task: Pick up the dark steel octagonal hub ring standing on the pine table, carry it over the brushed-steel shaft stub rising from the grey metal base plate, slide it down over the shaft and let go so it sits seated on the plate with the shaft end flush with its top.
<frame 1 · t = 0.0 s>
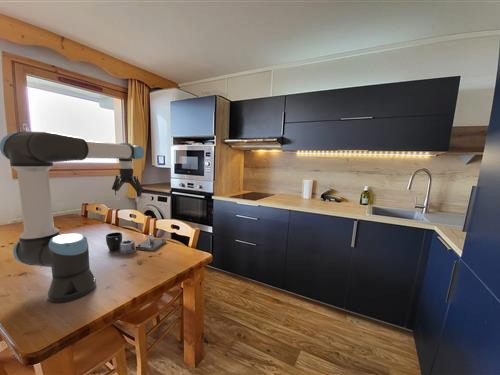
hand: (128, 201, 133), 28 cm above the table, fingers open, 13 cm apart
shaft block: (151, 245, 133), on the table
mug: (115, 250, 125), on the table
hub: (127, 251, 123), on the table
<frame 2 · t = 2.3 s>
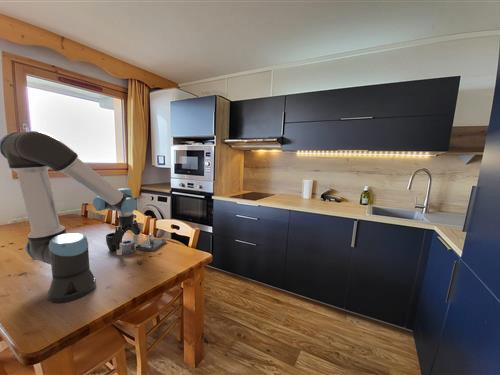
hand: (128, 249, 123), 1 cm above the table, fingers open, 13 cm apart
nothing on the table moved.
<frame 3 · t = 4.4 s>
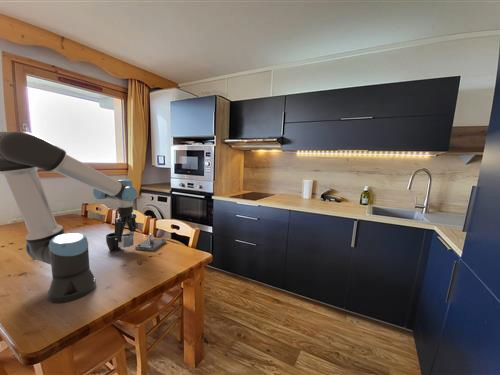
hand: (126, 244, 122), 5 cm above the table, fingers closed on hub, 7 cm apart
hub: (126, 245, 122), point 5 cm above the table, touching gripper
everything else where it was.
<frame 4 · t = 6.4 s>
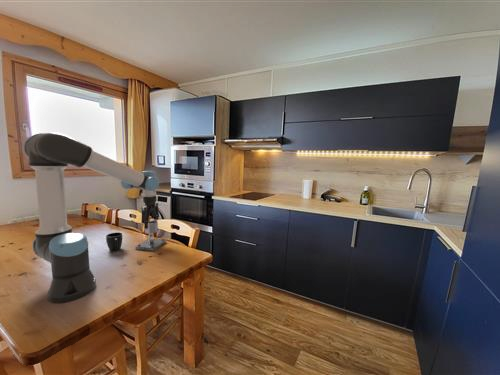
hand: (151, 231, 132), 10 cm above the table, fingers closed on hub, 7 cm apart
hub: (151, 231, 132), point 10 cm above the table, touching gripper
everything else where it was.
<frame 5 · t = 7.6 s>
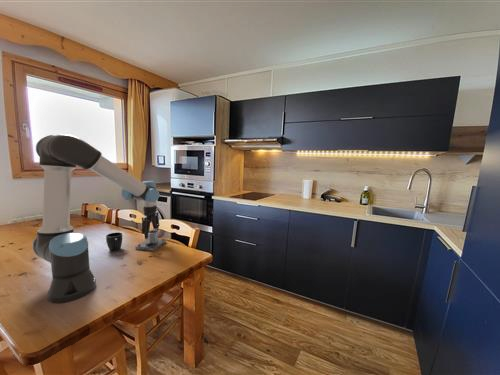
hand: (151, 240, 133), 3 cm above the table, fingers closed on hub, 7 cm apart
hub: (151, 240, 133), point 3 cm above the table, touching gripper
everything else where it was.
when the fingers open (3 cm above the table, at t = 8.5 s): hub stays where it is, resting on shaft block.
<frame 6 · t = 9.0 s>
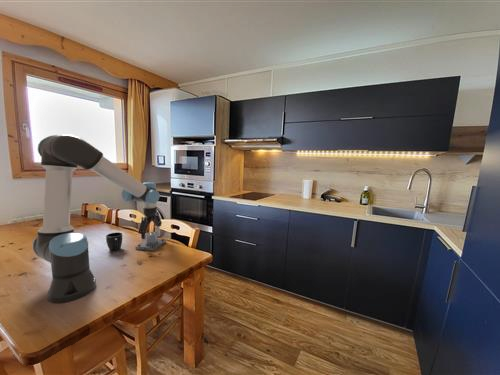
hand: (151, 239, 132), 4 cm above the table, fingers open, 13 cm apart
hub: (151, 242, 133), point 2 cm above the table, touching shaft block
everything else where it was.
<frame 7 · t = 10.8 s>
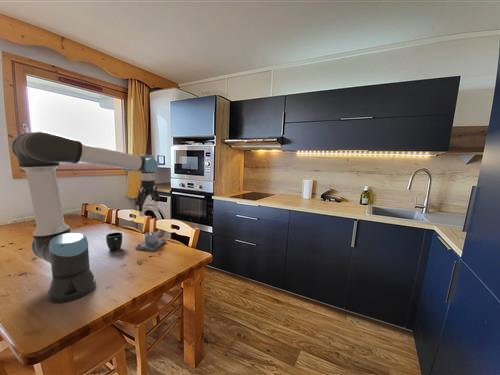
hand: (149, 213, 130), 21 cm above the table, fingers open, 13 cm apart
nothing on the table moved.
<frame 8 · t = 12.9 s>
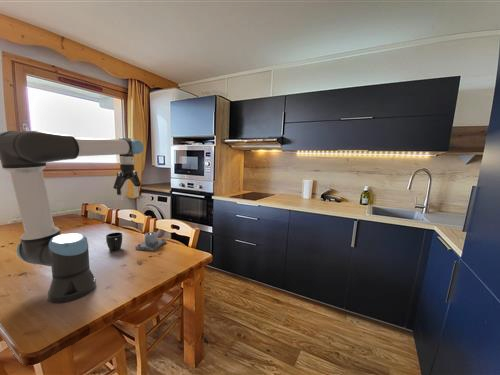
hand: (128, 198, 129), 31 cm above the table, fingers open, 13 cm apart
nothing on the table moved.
at the end: hub 0.1 cm off-centre on the shaft block, point 2.0 cm above the shaft block's base; hub tilted 0°; the gripper is holding nothing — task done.
